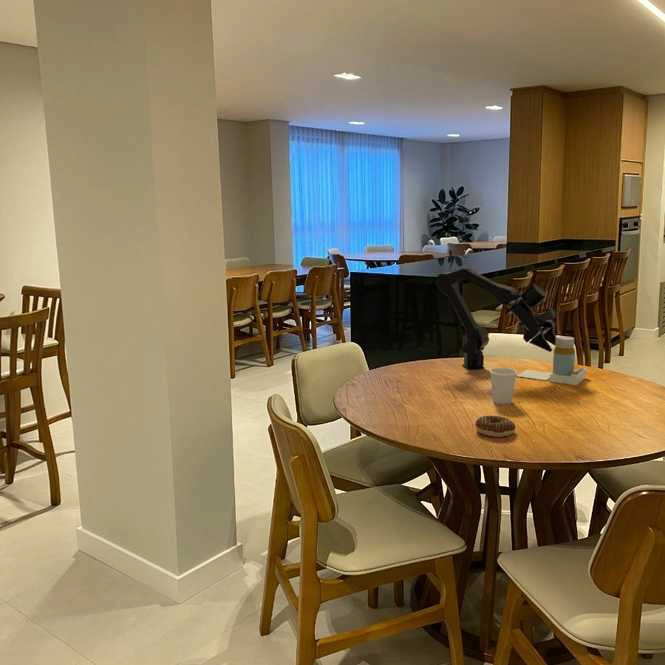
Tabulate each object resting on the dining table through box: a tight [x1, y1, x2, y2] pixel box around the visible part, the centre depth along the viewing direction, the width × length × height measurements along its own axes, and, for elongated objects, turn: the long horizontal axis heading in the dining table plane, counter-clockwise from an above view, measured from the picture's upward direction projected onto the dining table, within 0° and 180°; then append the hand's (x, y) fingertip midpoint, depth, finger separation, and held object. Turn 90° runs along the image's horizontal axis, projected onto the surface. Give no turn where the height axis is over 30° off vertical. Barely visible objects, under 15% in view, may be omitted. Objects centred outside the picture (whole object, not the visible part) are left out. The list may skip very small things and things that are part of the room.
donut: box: [474, 415, 516, 438], centre depth 179 cm, size 11×11×4 cm
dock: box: [549, 367, 587, 386], centre depth 232 cm, size 9×12×4 cm
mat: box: [516, 369, 553, 382], centre depth 238 cm, size 11×11×1 cm
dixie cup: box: [489, 367, 518, 405], centre depth 206 cm, size 8×8×10 cm
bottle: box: [552, 335, 576, 376], centre depth 232 cm, size 7×7×15 cm
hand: (555, 348), depth 233 cm, fingers open, 9 cm apart
